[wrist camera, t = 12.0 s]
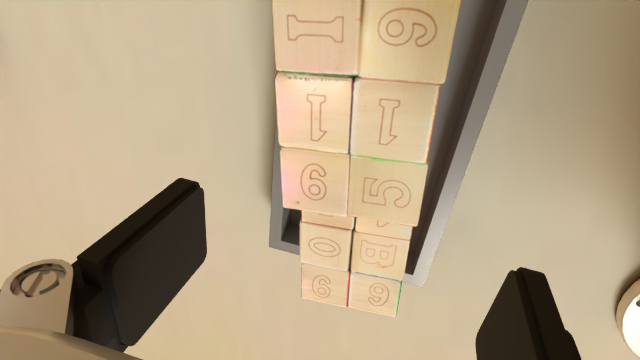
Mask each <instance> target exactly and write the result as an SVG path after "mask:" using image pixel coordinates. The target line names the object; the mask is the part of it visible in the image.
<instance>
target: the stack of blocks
mask: <svg viewBox="0 0 640 360" xmlns="http://www.w3.org/2000/svg"><path fill="white" fill-rule="evenodd" d="M460 3H461V0H272V13H273V30H274V49H275V64H276V69H277V71H278V73H277V74H276V76H275V95H276V112H277V128H278V141H279V144H280V146H281V148H280V167H281V187H282V205H283V207H284V208H291V209H297V210H301V220H300V261H301V262H302V268H301V296H302V298H305V299H309V300H314V301H319V302H323V303H328V304H332V305H337V306H341V307H347V306H349V307H351V308H355V309H359V310H364V311H368V312H374V313H378V314H383V315H388V316H392V317H396V315H397V309H398V303H399V297H400V292H401V284H402V280H403V278H404V273H405V267H406V261H407V256H408V250H409V244H410V238H411V235H412V229H413V227H416V226H418V222H419V216H420V210H421V204H422V199H423V193H424V187H425V181H426V175H427V170H428V152H429V146H430V141H431V135H432V130H433V124H434V118H435V113H436V108H437V102H438V96H439V89H440V86H441V85H442V84H443V83H444V82H445V80H446V75H447V70H448V65H449V60H450V54H451V49H452V43H453V37H454V32H455V27H456V23H457V18H458V13H459V8H460Z"/></svg>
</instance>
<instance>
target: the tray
mask: <svg viewBox="0 0 640 360" xmlns="http://www.w3.org/2000/svg"><path fill="white" fill-rule="evenodd" d="M527 3H528V0H461V3H460V8H459V13H458V18H457V23H456V27H455V32H454V37H453V43H452V49H451V54H450V60H449V65H448V70H447V75H446V80H445V82H444V83H443V84H442V85H441V86H440V89H439V96H438V102H437V108H436V113H435V118H434V124H433V130H432V135H431V141H430V146H429V152H428V170H427V175H426V181H425V187H424V193H423V199H422V204H421V210H420V216H419V222H418V226H416V227H413V229H412V235H411V238H410V244H409V250H408V256H407V261H406V267H405V273H404V278H403V280H402V282H403V283H407V284H411V285H415V286H418V287H422V288H423V285H424V282H425V280H426V277H427V274H428V271H429V269H430V266H431V263H432V261H433V258H434V255H435V253H436V250H437V247H438V244H439V242H440V239H441V236H442V234H443V231H444V228H445V225H446V223H447V220H448V217H449V215H450V212H451V209H452V206H453V204H454V201H455V198H456V196H457V193H458V190H459V187H460V185H461V182H462V179H463V177H464V174H465V171H466V168H467V166H468V163H469V160H470V158H471V155H472V152H473V149H474V147H475V144H476V141H477V139H478V136H479V133H480V130H481V128H482V125H483V122H484V120H485V117H486V114H487V111H488V109H489V106H490V103H491V101H492V98H493V95H494V93H495V90H496V87H497V84H498V82H499V79H500V76H501V74H502V71H503V68H504V65H505V63H506V60H507V57H508V55H509V52H510V49H511V46H512V44H513V41H514V38H515V36H516V33H517V30H518V27H519V25H520V22H521V19H522V17H523V14H524V11H525V8H526V6H527ZM280 148H281V146H280V144H279V141H278V128H277V112H276V127H275V145H274V163H273V181H272V198H271V216H270V234H269V247H271V248H275V249H278V250H282V251H286V252H290V253H294V254H297V255H300V220H301V210H297V209H291V208H284V207H283V205H282V187H281V167H280Z"/></svg>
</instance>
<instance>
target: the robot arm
mask: <svg viewBox="0 0 640 360" xmlns="http://www.w3.org/2000/svg"><path fill="white" fill-rule="evenodd" d="M206 254H207V244H206V225H205V205H204V190H203V189H202V188H200V185H199V183H198V182H195V181H191V180H188V179H184V178H179V179H177V180H176V181H174V182H173V183H172V184H170V185H169V186H168V187H167V188H165V189H164V190H163V191H161V192H160V193H159V194H158V195H156V196H155V197H154V198H152V199H151V200H150V201H148V202H147V203H146V204H145V205H143V206H142V207H141V208H139V209H138V210H137V211H135V212H134V213H133V214H132V215H130V216H129V217H128V218H126V219H125V220H124V221H123V222H121V223H120V224H119V225H117V226H116V227H115V228H113V229H112V230H111V231H110V232H108V233H107V234H106V235H104V236H103V237H102V238H100V239H99V240H98V241H97V242H95V243H94V244H93V245H91V246H90V247H89V248H88V249H86V250H85V251H84V252H82V253H81V254H80V255H78V256H77V261H76V262H74V263H73V264H72V265H70V264H69V263H68V262H66V261H63V260H58V259H47V260H41V261H37V262H33V263H30V264H28V265H26V266H23V267H21V268H20V269H18V270H17V271H15V272H13V273H12V274H11V275H10V276H9V277H8V278H7V279H6V281H5V282H4V284H3V286H2V288H1V290H0V360H142V359H139V358H136V357H134V356H131V355H128V354H125V353H123V352H124V351H125V350H126V348H127V347H128V346H133V345H135V344H136V343H137V342H138V341H139V339H140V338H141V337H142V336H143V335H144V333H145V332H146V331H147V330H148V328H149V327H150V326H151V325H152V324H153V322H154V321H155V320H156V319H157V318H158V316H159V315H160V314H161V313H162V312H163V310H164V309H165V308H166V307H167V305H168V304H169V303H170V302H171V301H172V299H173V298H174V297H175V296H176V295H177V293H178V292H179V291H180V290H181V288H182V287H183V286H184V285H185V284H186V282H187V281H188V280H189V279H190V278H191V276H192V275H193V274H194V273H195V272H196V270H197V269H198V268H199V267H200V265H201V264H202V263H203V262H204V260H205V258H206ZM616 321H617V327H618V329H619V331H620V333H621V336H622V338H623V340H624V341H625V343H626V344H627V346H628V347H629V349H630V350H631V351H632V352H633V353H634V354H635V355H637V356H638V357H639V358H640V279H639V280H637V281H636V282H635V283H634V284H632V286H631V287H630V288H629V289H628V290H627V291H626V292H625V294H624V295H623V297H622V299H621V301H620V303H619V304H618V308H617V313H616ZM476 354H477V360H581V357H580V354H579V352H578V349H577V347H576V344H575V341H574V339H573V337H572V335H571V334H570V333H569V332H568V331H567V330H565V328H564V325H563V323H562V320H561V317H560V314H559V312H558V309H557V306H556V303H555V301H554V298H553V295H552V292H551V290H550V287H549V284H548V281H547V279H546V276H545V274H543V273H541V272H538V271H534V270H530V269H526V268H522V267H520V268H518V269H517V271H513V270H511V271H510V272H509V273H508V275H507V277H506V279H505V281H504V283H503V285H502V287H501V288H500V290H499V292H498V294H497V296H496V298H495V300H494V302H493V304H492V306H491V308H490V310H489V312H488V314H487V316H486V317H485V319H484V321H483V323H482V325H481V327H480V329H479V331H478V333H477V337H476Z"/></svg>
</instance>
